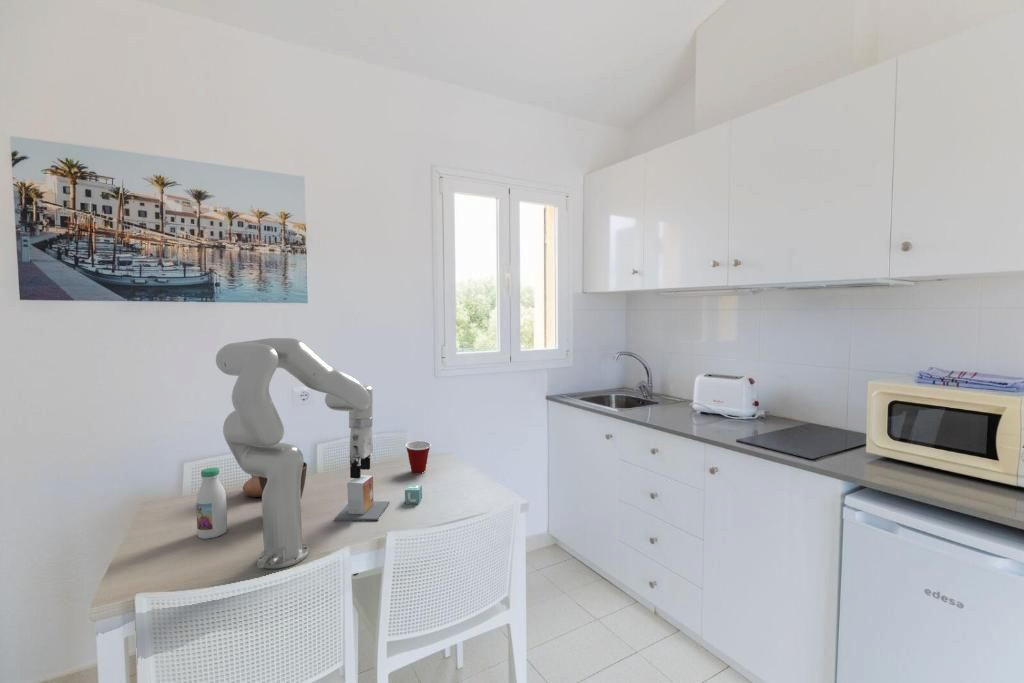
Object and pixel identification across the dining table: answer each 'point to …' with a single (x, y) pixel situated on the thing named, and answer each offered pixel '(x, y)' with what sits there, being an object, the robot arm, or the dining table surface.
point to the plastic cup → (418, 455)
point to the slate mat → (368, 515)
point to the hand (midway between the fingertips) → (360, 473)
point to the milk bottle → (211, 505)
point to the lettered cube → (413, 494)
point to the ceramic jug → (252, 487)
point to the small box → (360, 494)
